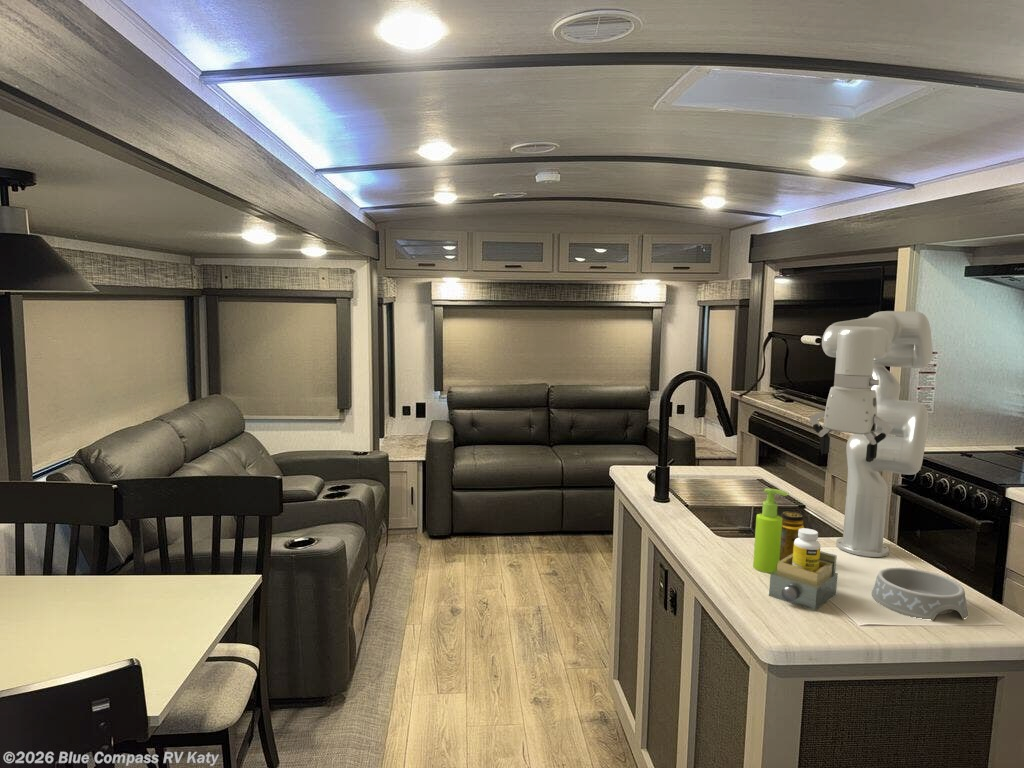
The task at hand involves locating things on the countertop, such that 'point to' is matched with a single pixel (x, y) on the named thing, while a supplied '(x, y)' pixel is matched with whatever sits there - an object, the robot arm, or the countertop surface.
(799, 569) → the grey and tan box
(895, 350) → the robot arm
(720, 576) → the countertop surface
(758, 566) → the soap dispenser
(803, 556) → the supplement bottle
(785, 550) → the condiment
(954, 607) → the dog bowl
